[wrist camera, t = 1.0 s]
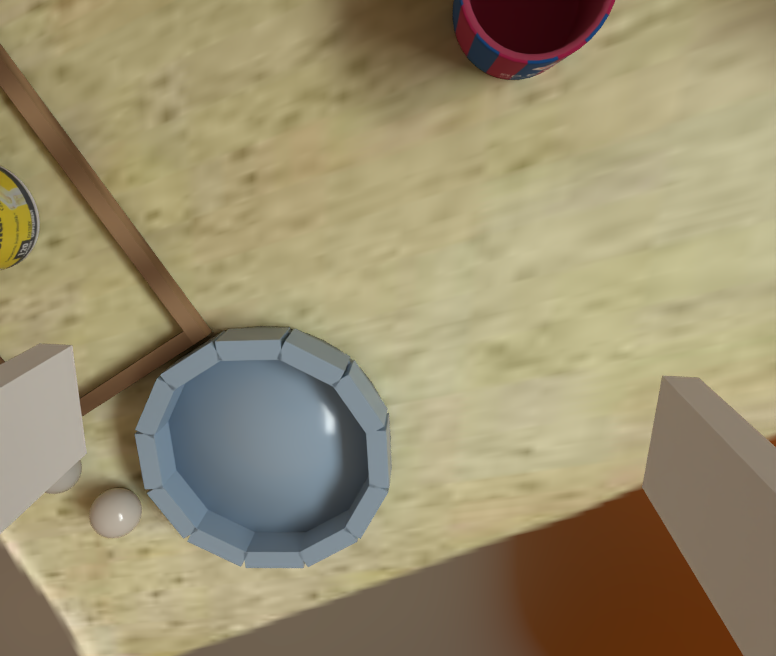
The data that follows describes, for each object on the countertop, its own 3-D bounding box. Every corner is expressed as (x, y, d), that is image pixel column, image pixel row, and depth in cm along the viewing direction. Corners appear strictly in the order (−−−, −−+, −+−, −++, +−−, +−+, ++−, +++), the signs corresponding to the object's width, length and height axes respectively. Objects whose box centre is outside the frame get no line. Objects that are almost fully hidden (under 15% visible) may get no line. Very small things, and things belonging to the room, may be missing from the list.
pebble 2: (95, 492, 42) (69, 519, 39) (130, 471, 41) (106, 497, 38) (124, 526, 43) (100, 556, 40) (159, 506, 42) (138, 535, 39)
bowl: (111, 402, 40) (87, 421, 37) (301, 279, 37) (291, 291, 34) (249, 574, 43) (236, 603, 40) (435, 476, 40) (436, 500, 37)
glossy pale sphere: (38, 452, 42) (9, 474, 39) (71, 431, 41) (43, 452, 38) (67, 485, 42) (40, 510, 39) (99, 465, 42) (75, 489, 39)
